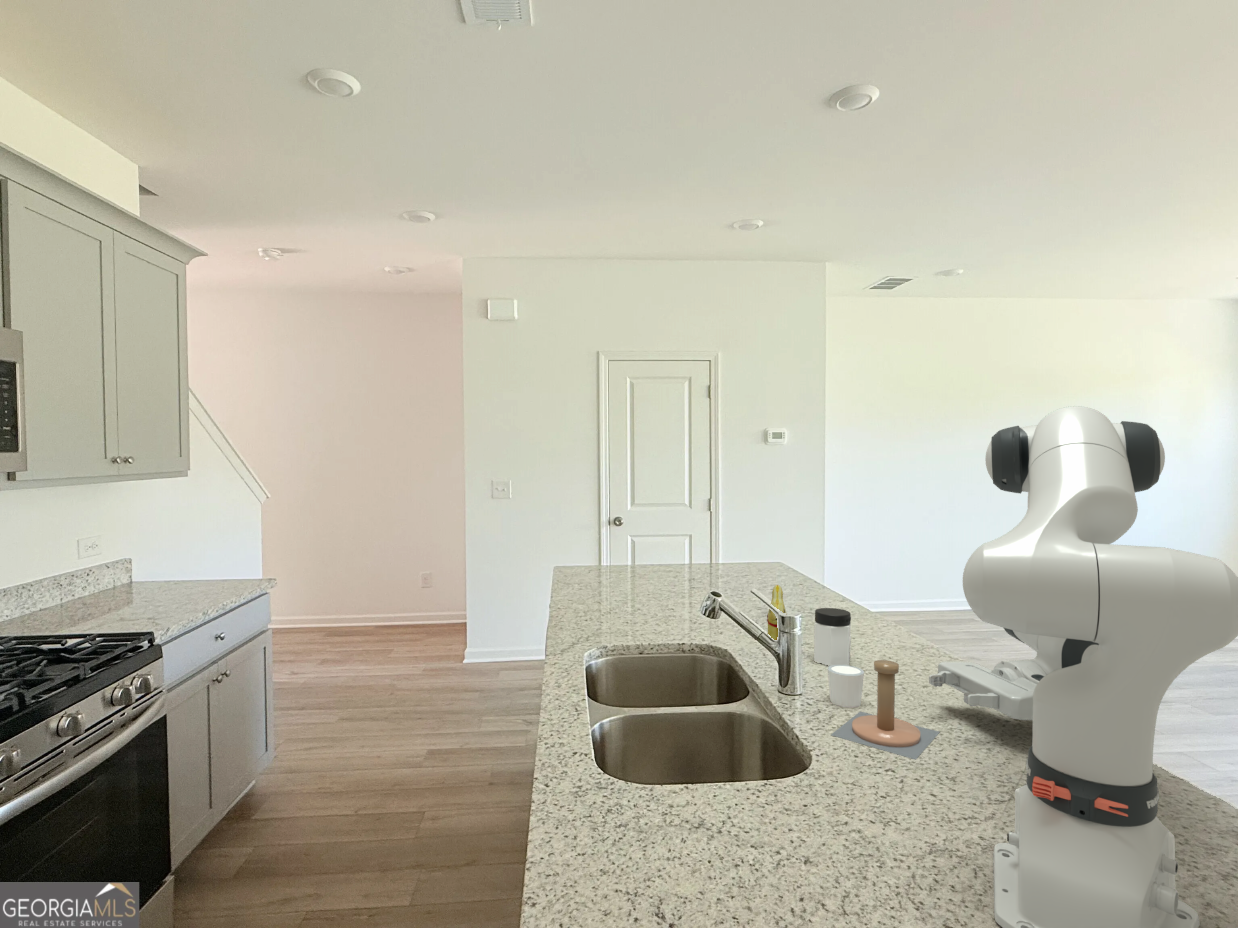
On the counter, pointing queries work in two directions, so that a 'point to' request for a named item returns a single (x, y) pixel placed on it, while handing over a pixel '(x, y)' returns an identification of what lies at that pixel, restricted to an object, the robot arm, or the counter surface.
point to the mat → (909, 752)
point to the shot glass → (845, 685)
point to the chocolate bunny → (772, 620)
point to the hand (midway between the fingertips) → (948, 689)
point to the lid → (886, 714)
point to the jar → (832, 636)
